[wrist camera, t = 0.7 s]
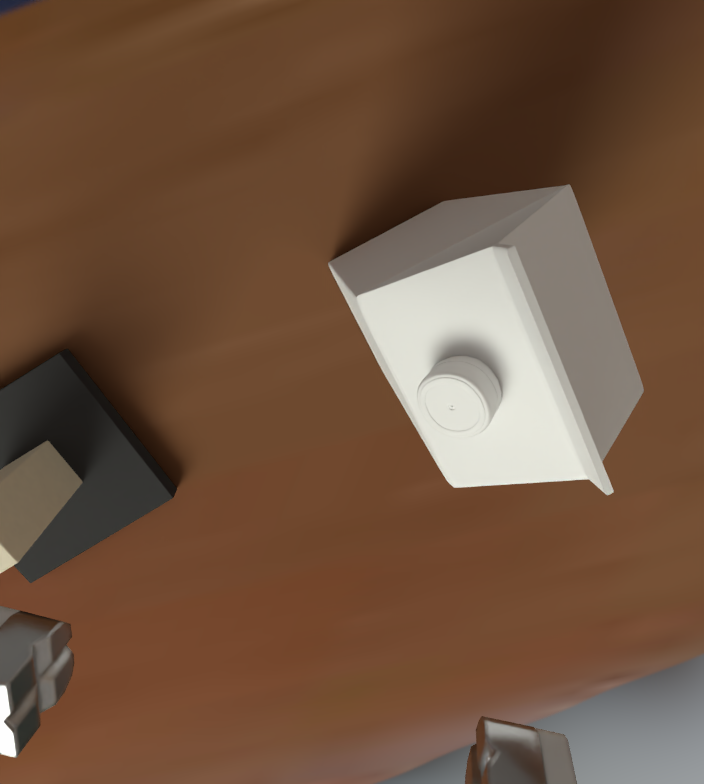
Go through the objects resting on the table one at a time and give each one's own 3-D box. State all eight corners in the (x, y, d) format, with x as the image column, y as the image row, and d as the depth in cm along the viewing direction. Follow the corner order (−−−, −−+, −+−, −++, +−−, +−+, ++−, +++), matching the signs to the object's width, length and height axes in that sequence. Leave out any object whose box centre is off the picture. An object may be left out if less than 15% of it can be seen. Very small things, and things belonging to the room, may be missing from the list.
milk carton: (443, 200, 31) (653, 171, 13) (494, 316, 33) (735, 433, 15) (326, 262, 31) (370, 320, 13) (383, 374, 33) (488, 555, 15)
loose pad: (-82, 441, 32) (-224, 525, 23) (67, 348, 31) (-21, 397, 23) (39, 571, 35) (-47, 689, 26) (177, 488, 34) (137, 580, 25)
